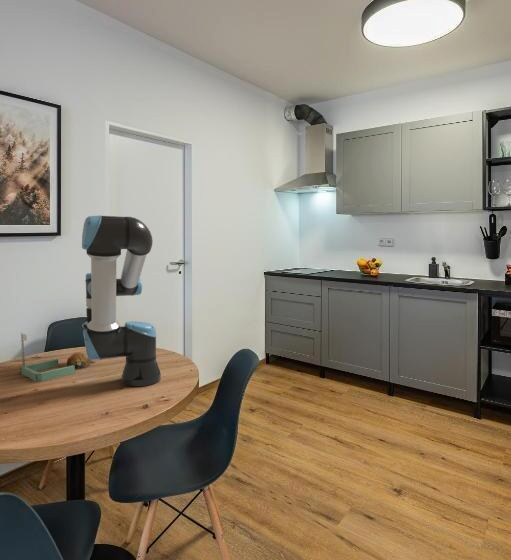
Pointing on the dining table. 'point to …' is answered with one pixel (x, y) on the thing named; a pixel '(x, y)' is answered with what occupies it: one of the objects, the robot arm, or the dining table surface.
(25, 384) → the dining table surface
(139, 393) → the dining table surface
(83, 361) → the bread roll
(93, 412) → the dining table surface
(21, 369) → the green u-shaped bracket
